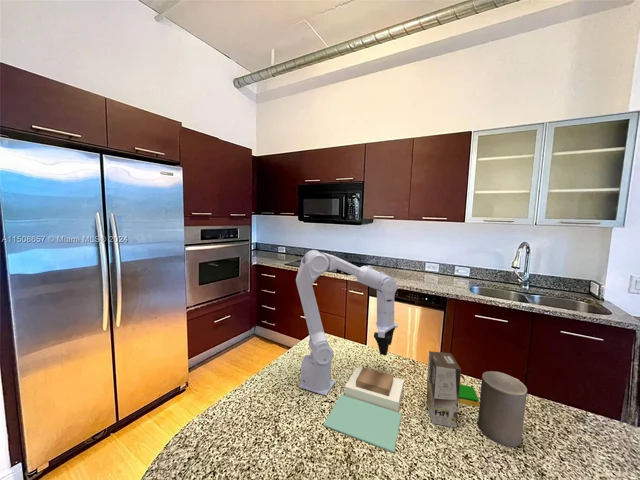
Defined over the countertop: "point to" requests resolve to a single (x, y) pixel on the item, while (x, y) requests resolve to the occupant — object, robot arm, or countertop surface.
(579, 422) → the countertop surface
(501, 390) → the pillar candle
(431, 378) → the coffee box
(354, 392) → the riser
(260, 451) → the countertop surface
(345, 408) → the sage mat
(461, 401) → the dish sponge
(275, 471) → the countertop surface
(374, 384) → the walnut coaster
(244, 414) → the countertop surface
